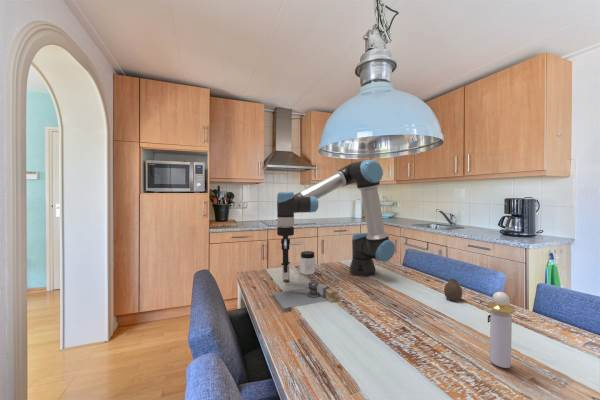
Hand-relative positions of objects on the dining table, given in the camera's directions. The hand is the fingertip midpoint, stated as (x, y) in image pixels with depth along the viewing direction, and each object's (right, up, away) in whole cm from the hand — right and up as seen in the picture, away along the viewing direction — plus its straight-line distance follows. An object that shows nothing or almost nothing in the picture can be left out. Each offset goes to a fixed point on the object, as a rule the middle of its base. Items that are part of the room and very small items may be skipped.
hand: (285, 278), depth 117 cm
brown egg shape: (+73, -8, -3) cm, 74 cm away
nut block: (+20, -7, -5) cm, 22 cm away
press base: (+9, -9, -1) cm, 12 cm away
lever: (+9, -6, +1) cm, 11 cm away
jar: (+11, -8, +38) cm, 40 cm away
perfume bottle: (+61, -10, -46) cm, 77 cm away
